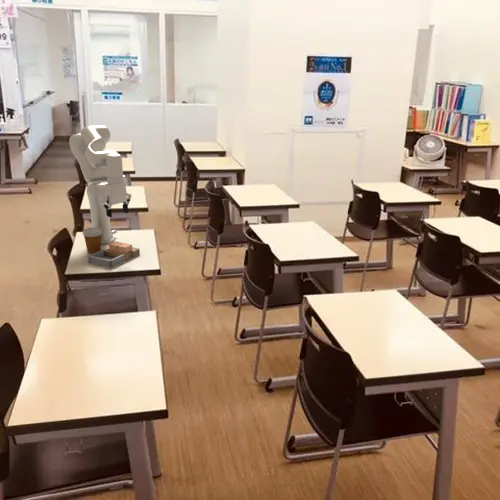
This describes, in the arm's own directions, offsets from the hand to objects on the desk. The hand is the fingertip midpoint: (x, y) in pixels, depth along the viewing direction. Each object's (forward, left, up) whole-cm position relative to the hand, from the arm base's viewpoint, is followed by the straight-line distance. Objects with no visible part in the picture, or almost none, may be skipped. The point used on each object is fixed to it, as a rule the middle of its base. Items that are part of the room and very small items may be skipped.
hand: (117, 214), depth 263 cm
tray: (+11, +1, -21) cm, 24 cm away
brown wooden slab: (0, +1, -21) cm, 21 cm away
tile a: (+1, -2, -18) cm, 18 cm away
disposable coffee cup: (+4, -14, -21) cm, 26 cm away
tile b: (+1, +4, -18) cm, 18 cm away
